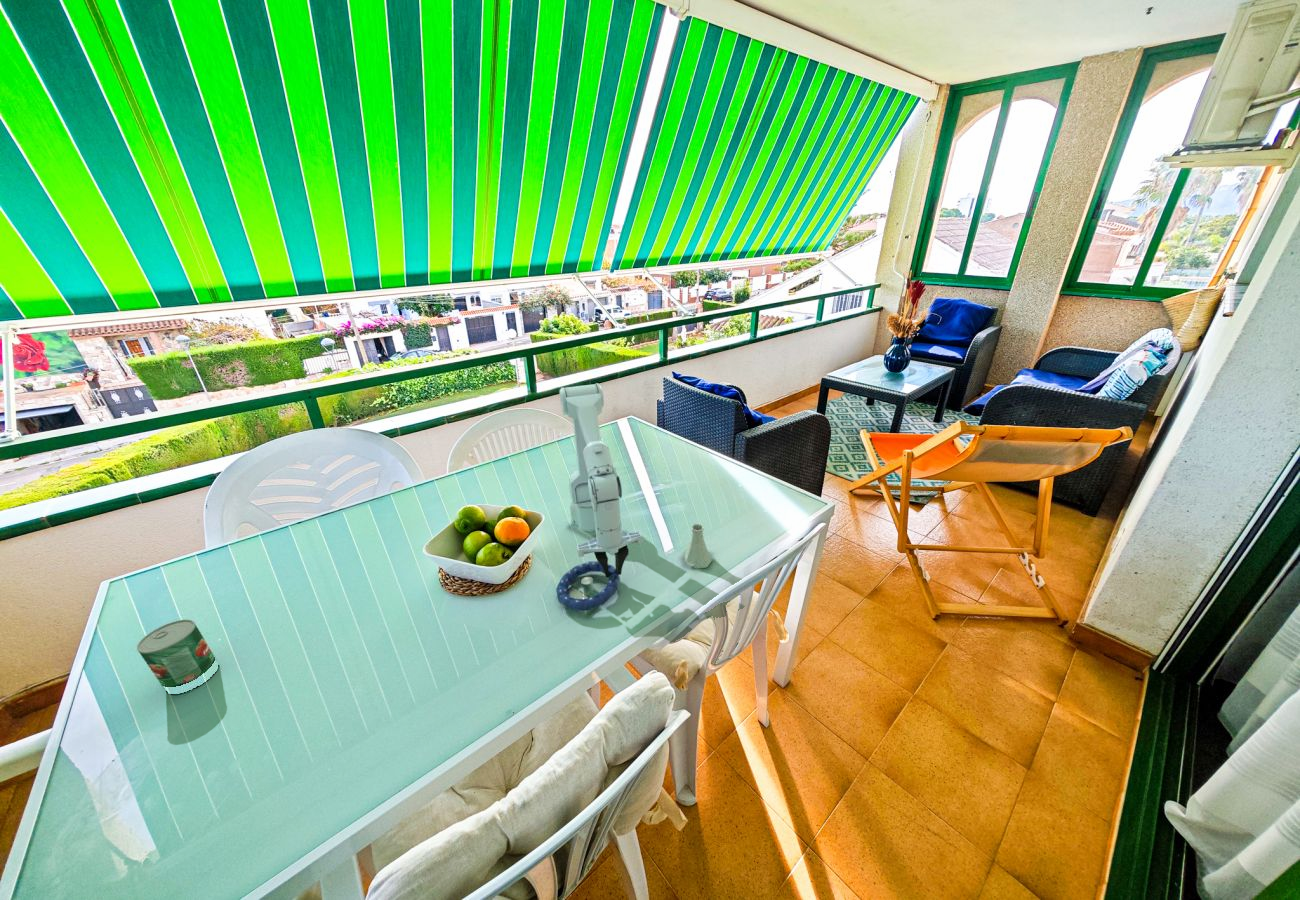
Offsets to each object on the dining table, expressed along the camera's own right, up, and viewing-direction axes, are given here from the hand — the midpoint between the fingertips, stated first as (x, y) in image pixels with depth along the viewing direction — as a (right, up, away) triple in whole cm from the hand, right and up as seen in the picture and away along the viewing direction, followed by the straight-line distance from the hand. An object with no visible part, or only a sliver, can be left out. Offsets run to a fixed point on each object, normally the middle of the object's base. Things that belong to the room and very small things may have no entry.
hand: (612, 573), depth 106 cm
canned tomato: (-80, -16, -17) cm, 84 cm away
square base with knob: (-6, -5, 0) cm, 7 cm away
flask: (+21, 0, +10) cm, 23 cm away
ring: (-5, -2, -1) cm, 6 cm away
